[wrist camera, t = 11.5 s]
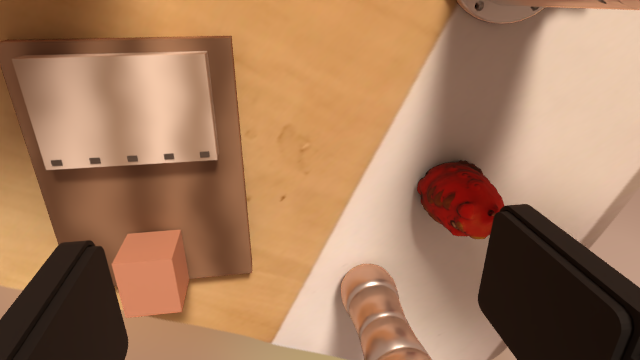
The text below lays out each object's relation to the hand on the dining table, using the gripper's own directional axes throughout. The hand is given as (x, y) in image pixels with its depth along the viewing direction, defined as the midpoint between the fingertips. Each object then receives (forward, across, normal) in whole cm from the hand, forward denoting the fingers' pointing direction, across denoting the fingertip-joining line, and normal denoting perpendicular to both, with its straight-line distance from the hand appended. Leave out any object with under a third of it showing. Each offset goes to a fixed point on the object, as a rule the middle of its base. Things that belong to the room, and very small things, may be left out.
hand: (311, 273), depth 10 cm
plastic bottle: (+31, -10, +25) cm, 41 cm away
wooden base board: (+30, +12, +9) cm, 34 cm away
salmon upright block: (+28, +12, +18) cm, 35 cm away
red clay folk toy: (+31, -19, +13) cm, 38 cm away
